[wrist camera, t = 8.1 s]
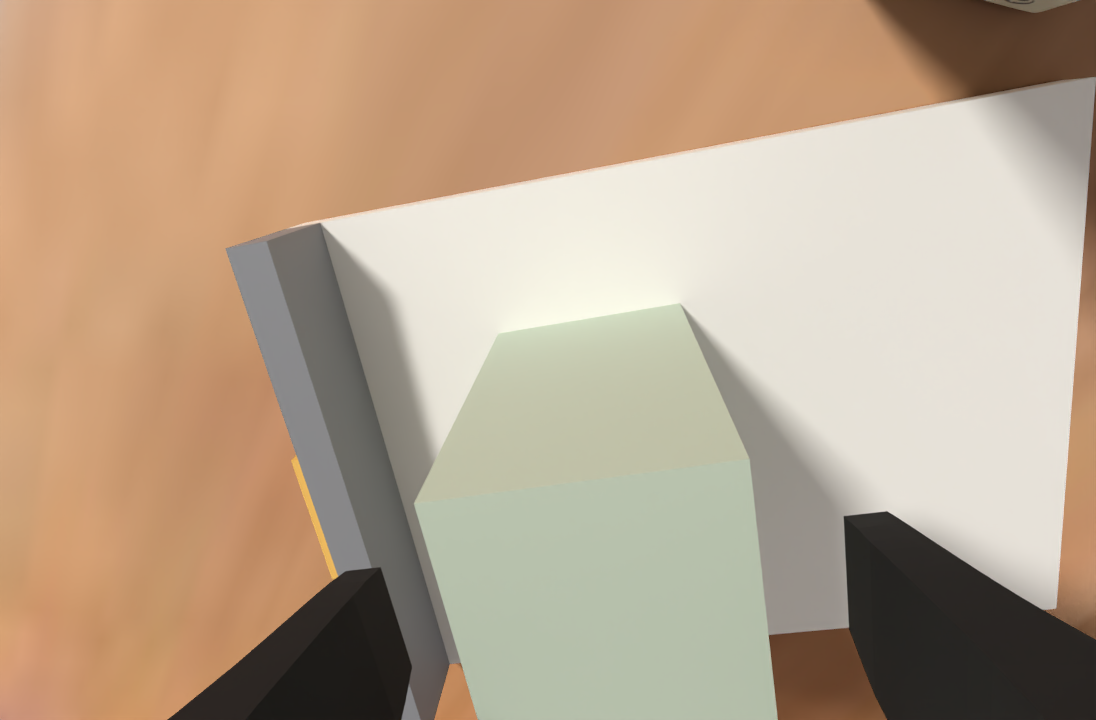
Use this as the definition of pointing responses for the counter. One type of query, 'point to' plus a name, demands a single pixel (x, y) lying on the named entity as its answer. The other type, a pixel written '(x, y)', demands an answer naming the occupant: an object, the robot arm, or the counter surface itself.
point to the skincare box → (1032, 4)
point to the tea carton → (600, 530)
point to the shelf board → (723, 336)
